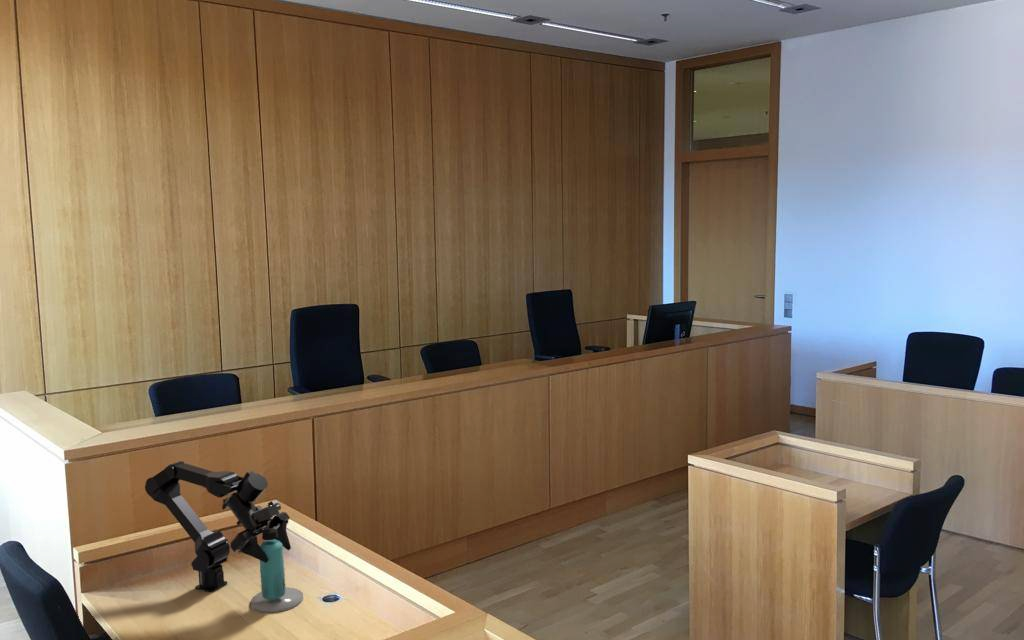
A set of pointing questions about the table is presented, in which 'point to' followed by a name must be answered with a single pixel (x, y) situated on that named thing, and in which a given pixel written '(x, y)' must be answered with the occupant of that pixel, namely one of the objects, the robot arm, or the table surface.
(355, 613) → the table surface
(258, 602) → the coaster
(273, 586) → the beverage bottle
